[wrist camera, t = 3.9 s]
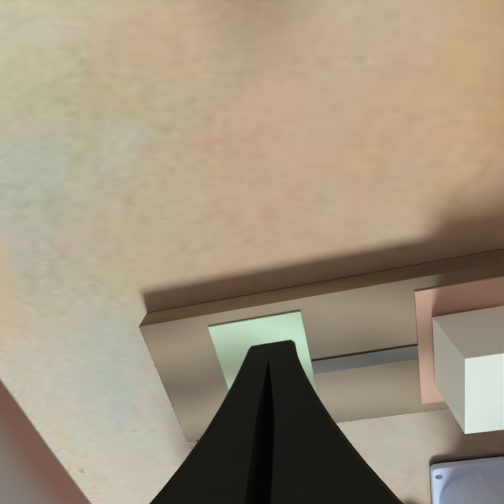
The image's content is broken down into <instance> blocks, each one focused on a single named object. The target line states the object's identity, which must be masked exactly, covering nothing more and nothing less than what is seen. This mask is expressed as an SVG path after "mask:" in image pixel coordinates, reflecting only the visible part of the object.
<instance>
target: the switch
mask: <svg viewBox="0 0 504 504" xmlns="http://www.w3.org/2000/svg"><path fill="white" fill-rule="evenodd" d="M499 306H504V249H501V250H495V251H490V252H484V253H478V254H473V255H467V256H462V257H456V258H451V259H445V260H440V261H434V262H429V263H423V264H417V265H412V266H406V267H401V268H395V269H390V270H384V271H379V272H373V273H368V274H362V275H356V276H351V277H345V278H340V279H334V280H329V281H323V282H318V283H312V284H307V285H301V286H295V287H290V288H284V289H279V290H273V291H268V292H262V293H257V294H251V295H246V296H240V297H234V298H229V299H223V300H218V301H212V302H207V303H201V304H196V305H190V306H185V307H179V308H174V309H168V310H162V311H157V312H151V313H147V314H146V316H145V317H144V319H143V321H142V322H141V324H140V326H139V329H140V331H141V333H142V336H143V338H144V340H145V343H146V345H147V348H148V350H149V352H150V355H151V357H152V359H153V362H154V364H155V367H156V369H157V371H158V374H159V376H160V378H161V381H162V383H163V386H164V388H165V390H166V393H167V395H168V397H169V400H170V402H171V405H172V407H173V409H174V412H175V414H176V416H177V419H178V421H179V424H180V426H181V428H182V431H183V433H184V436H185V438H186V440H187V442H189V441H197V440H200V438H201V437H202V435H203V434H204V432H205V431H206V429H207V427H208V426H209V424H210V423H211V421H212V419H213V418H214V416H215V414H216V413H217V411H218V409H219V408H220V406H221V404H222V402H223V401H224V399H225V397H226V395H227V393H228V391H229V389H230V387H231V386H232V384H233V382H234V380H235V378H236V376H237V374H238V372H239V370H240V367H241V365H242V363H243V361H244V359H245V356H246V354H247V352H248V349H249V348H250V347H251V346H254V345H260V344H266V343H272V342H278V341H285V340H292V341H294V342H295V345H296V349H297V354H298V357H299V360H300V362H301V365H302V367H303V369H304V371H305V373H306V375H307V377H308V379H309V381H310V383H311V385H312V386H313V388H314V390H315V392H316V394H317V395H318V397H319V399H320V400H321V402H322V403H323V405H324V406H325V408H326V409H327V411H328V413H329V414H330V416H331V417H332V419H333V420H334V421H335V423H339V422H347V421H354V420H362V419H370V418H378V417H386V416H394V415H402V414H410V413H417V412H425V411H433V410H441V409H449V407H448V405H447V404H446V402H445V400H444V399H443V397H442V395H441V394H440V392H439V390H438V389H437V387H436V385H435V370H434V345H433V320H432V317H437V316H443V315H449V314H455V313H462V312H468V311H474V310H480V309H487V308H493V307H499Z"/></svg>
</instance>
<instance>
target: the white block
mask: <svg viewBox="0 0 504 504" xmlns="http://www.w3.org/2000/svg"><path fill="white" fill-rule="evenodd" d="M432 320H433V345H434V370H435V385H436V387H437V389H438V390H439V392H440V394H441V395H442V397H443V399H444V400H445V402H446V404H447V405H448V407H449V409H450V410H451V412H452V413H453V415H454V417H455V418H456V420H457V422H458V423H459V425H460V427H461V428H462V430H463V432H464V433H465V434H470V433H478V432H487V431H495V430H504V306H499V307H493V308H487V309H480V310H474V311H468V312H462V313H455V314H449V315H443V316H437V317H432Z"/></svg>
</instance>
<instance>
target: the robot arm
mask: <svg viewBox="0 0 504 504" xmlns="http://www.w3.org/2000/svg"><path fill="white" fill-rule="evenodd" d="M430 477H431V496H432V504H504V456H503V457H494V458H484V459H475V460H466V461H457V462H447V463H438V464H434V465H432V466H431V467H430ZM150 504H403V503H402V502H401V501H400V500H399V499H398V497H397V496H396V495H395V494H394V493H393V492H392V491H391V490H390V489H389V488H388V486H387V485H386V484H385V483H384V482H383V481H382V480H381V479H380V477H379V476H378V475H377V474H376V473H375V472H374V471H373V470H372V468H371V467H370V466H369V465H368V464H367V463H366V462H365V460H364V459H363V458H362V457H361V456H360V454H359V453H358V452H357V451H356V449H355V448H354V447H353V446H352V444H351V443H350V442H349V440H348V439H347V438H346V436H345V435H344V434H343V432H342V431H341V430H340V428H339V427H338V426H337V424H336V423H335V421H334V420H333V419H332V417H331V416H330V414H329V413H328V411H327V409H326V408H325V406H324V405H323V403H322V402H321V400H320V399H319V397H318V395H317V394H316V392H315V390H314V388H313V386H312V385H311V383H310V381H309V379H308V377H307V375H306V373H305V371H304V369H303V367H302V365H301V362H300V360H299V357H298V354H297V349H296V345H295V342H294V341H292V340H285V341H278V342H272V343H266V344H260V345H254V346H251V347H250V348H249V349H248V352H247V354H246V356H245V359H244V361H243V363H242V365H241V367H240V370H239V372H238V374H237V376H236V378H235V380H234V382H233V384H232V386H231V387H230V389H229V391H228V393H227V395H226V397H225V399H224V401H223V402H222V404H221V406H220V408H219V409H218V411H217V413H216V414H215V416H214V418H213V419H212V421H211V423H210V424H209V426H208V427H207V429H206V431H205V432H204V434H203V435H202V437H201V438H200V440H199V441H198V443H197V444H196V445H195V447H194V448H193V450H192V451H191V452H190V454H189V455H188V457H187V458H186V459H185V461H184V462H183V463H182V465H181V466H180V467H179V468H178V470H177V471H176V472H175V474H174V475H173V476H172V477H171V479H170V480H169V481H168V482H167V484H166V485H165V486H164V487H163V489H162V490H161V491H160V492H159V493H158V495H157V496H156V497H155V498H154V499H153V500H152V502H151V503H150Z"/></svg>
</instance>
